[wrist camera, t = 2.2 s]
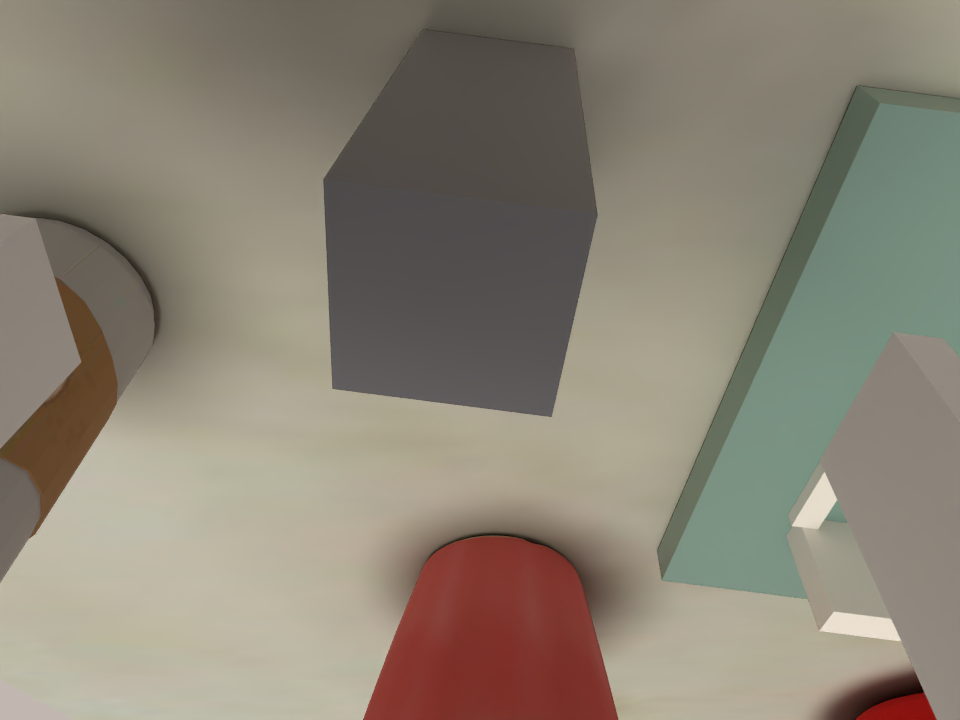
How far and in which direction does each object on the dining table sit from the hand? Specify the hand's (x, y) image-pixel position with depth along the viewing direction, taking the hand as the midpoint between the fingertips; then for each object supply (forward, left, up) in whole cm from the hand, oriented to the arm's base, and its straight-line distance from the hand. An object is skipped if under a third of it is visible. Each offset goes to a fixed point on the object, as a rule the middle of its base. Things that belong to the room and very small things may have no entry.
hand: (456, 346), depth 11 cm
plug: (0, 0, -10) cm, 10 cm away
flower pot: (+22, +3, -11) cm, 24 cm away
